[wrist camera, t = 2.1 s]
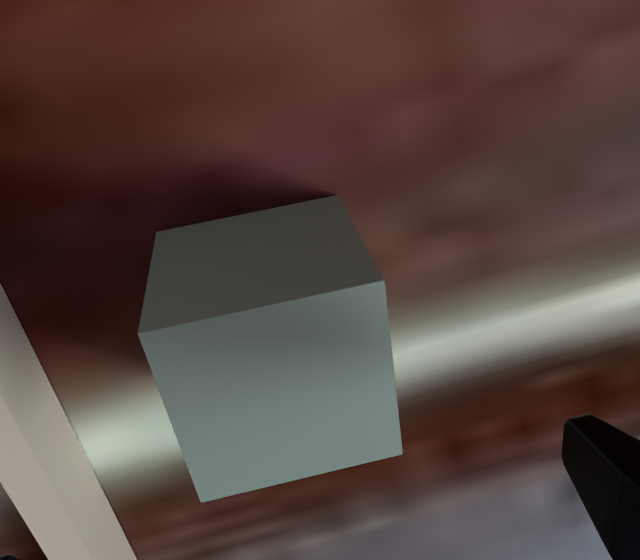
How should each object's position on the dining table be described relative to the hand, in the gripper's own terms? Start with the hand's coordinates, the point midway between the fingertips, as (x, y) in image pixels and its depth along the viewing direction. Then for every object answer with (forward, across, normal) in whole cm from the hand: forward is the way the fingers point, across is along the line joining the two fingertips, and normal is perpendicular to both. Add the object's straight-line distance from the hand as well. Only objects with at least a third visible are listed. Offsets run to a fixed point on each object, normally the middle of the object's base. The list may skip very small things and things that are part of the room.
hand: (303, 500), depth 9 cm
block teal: (+7, 0, 0) cm, 7 cm away
